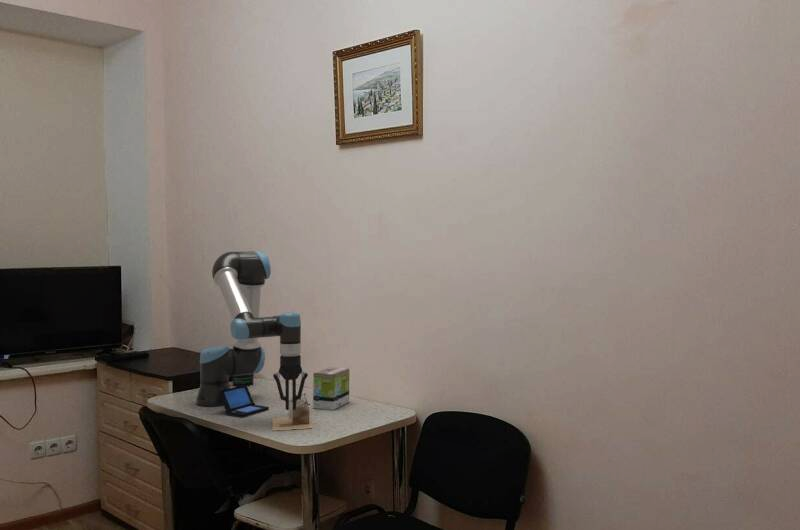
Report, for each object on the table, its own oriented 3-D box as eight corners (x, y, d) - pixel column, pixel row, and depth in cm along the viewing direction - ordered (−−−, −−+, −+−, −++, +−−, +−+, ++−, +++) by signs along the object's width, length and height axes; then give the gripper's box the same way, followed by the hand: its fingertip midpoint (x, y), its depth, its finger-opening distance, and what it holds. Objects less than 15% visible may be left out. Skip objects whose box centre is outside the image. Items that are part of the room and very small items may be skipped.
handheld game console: (242, 418, 251) (242, 394, 251) (217, 414, 258) (217, 391, 258) (270, 410, 265) (270, 387, 264) (246, 406, 271) (245, 384, 271)
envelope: (272, 431, 232) (272, 430, 232) (272, 418, 250) (272, 417, 250) (312, 428, 235) (312, 427, 235) (309, 416, 252) (309, 415, 252)
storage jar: (247, 382, 322) (247, 351, 321) (257, 385, 314) (257, 354, 314) (228, 384, 315) (228, 353, 315) (238, 388, 308) (237, 356, 308)
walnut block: (292, 424, 239) (292, 411, 239) (292, 420, 245) (292, 407, 245) (309, 423, 240) (309, 410, 240) (308, 420, 246) (308, 406, 246)
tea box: (335, 410, 262) (334, 373, 262) (312, 408, 265) (312, 372, 265) (350, 402, 276) (349, 367, 276) (328, 400, 280) (328, 366, 279)
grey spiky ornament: (302, 422, 259) (317, 400, 261) (297, 419, 251) (312, 397, 253) (284, 409, 261) (299, 388, 264) (279, 406, 253) (294, 384, 256)
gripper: (272, 356, 237) (272, 421, 237) (308, 355, 239) (308, 420, 239) (272, 353, 244) (273, 416, 244) (307, 352, 246) (308, 415, 247)
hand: (290, 418), depth 242 cm, fingers closed
